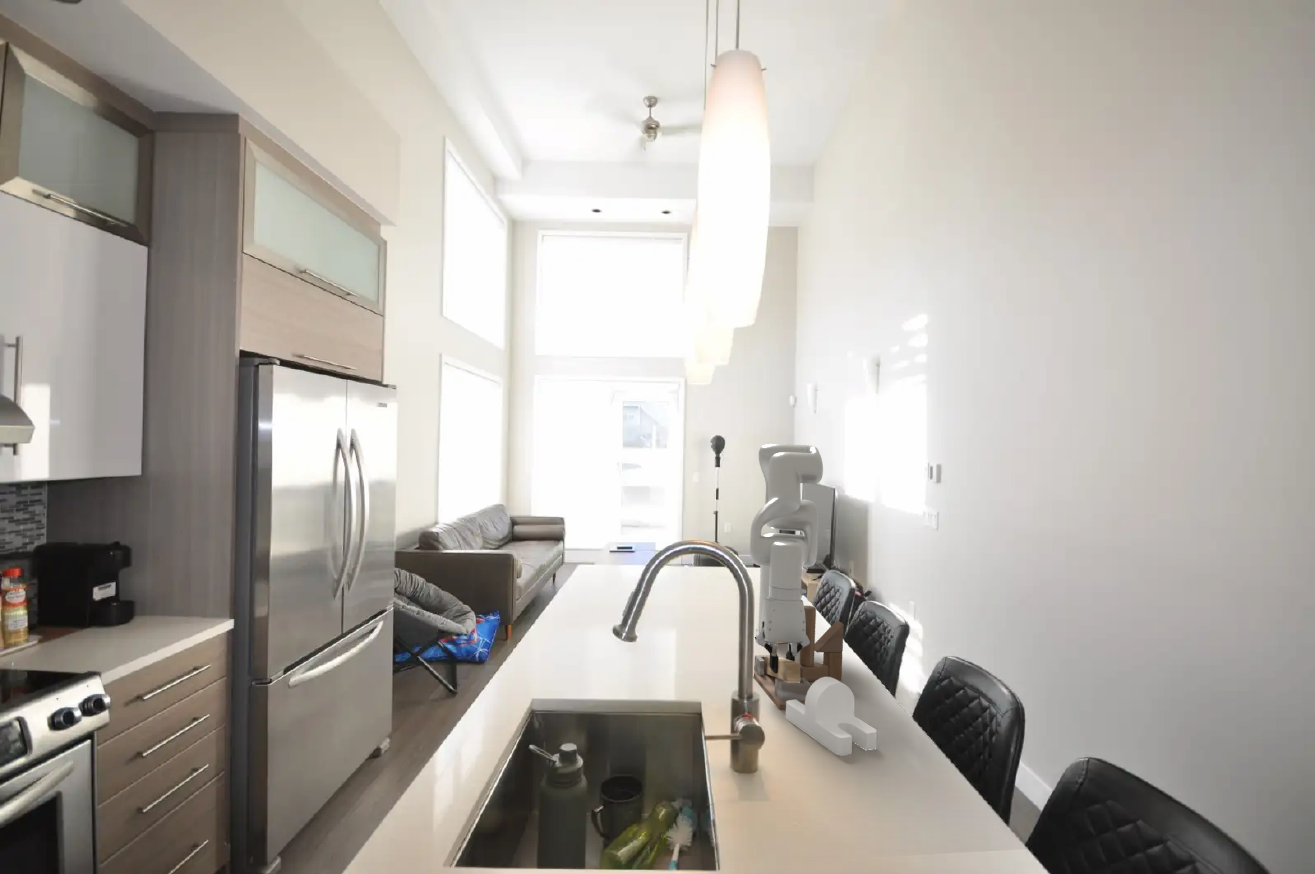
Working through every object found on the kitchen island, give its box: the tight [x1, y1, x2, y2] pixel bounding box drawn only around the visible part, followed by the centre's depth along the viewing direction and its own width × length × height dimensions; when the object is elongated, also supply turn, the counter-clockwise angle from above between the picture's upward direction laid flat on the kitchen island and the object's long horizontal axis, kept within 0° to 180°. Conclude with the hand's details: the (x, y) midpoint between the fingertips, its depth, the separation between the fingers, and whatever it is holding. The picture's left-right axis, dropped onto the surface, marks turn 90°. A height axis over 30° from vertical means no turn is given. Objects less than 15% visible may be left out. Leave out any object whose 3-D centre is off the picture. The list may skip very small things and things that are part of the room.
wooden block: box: [798, 605, 844, 682], centre depth 157 cm, size 4×11×18 cm, turn 102°
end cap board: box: [753, 654, 812, 710], centre depth 149 cm, size 24×9×4 cm, turn 8°
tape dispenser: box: [785, 677, 878, 757], centre depth 126 cm, size 10×18×11 cm, turn 23°
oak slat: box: [765, 657, 801, 682], centre depth 149 cm, size 16×3×4 cm, turn 9°
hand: (781, 670), depth 149 cm, fingers closed on oak slat, 3 cm apart
